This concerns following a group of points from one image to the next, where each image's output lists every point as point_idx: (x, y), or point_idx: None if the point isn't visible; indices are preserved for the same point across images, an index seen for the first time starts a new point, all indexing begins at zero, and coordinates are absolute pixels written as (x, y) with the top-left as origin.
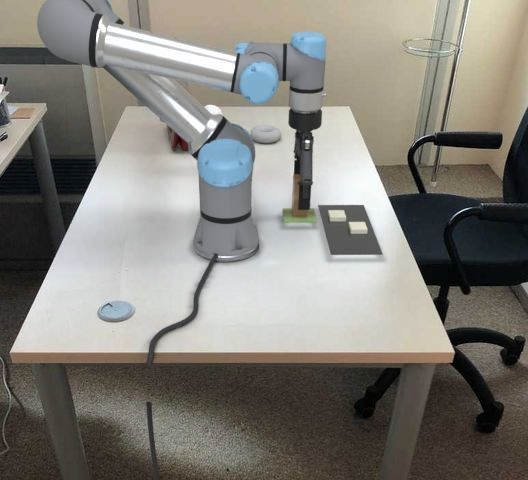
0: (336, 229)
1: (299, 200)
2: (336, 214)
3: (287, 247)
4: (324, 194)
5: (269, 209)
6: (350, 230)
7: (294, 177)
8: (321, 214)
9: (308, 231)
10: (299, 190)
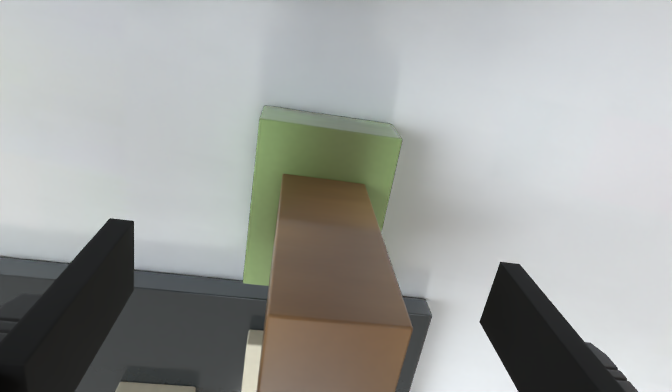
0: (165, 338)
1: (76, 260)
2: None
3: (37, 75)
4: None
5: (503, 75)
6: (129, 389)
7: (334, 324)
8: None
9: (218, 217)
10: (28, 312)
